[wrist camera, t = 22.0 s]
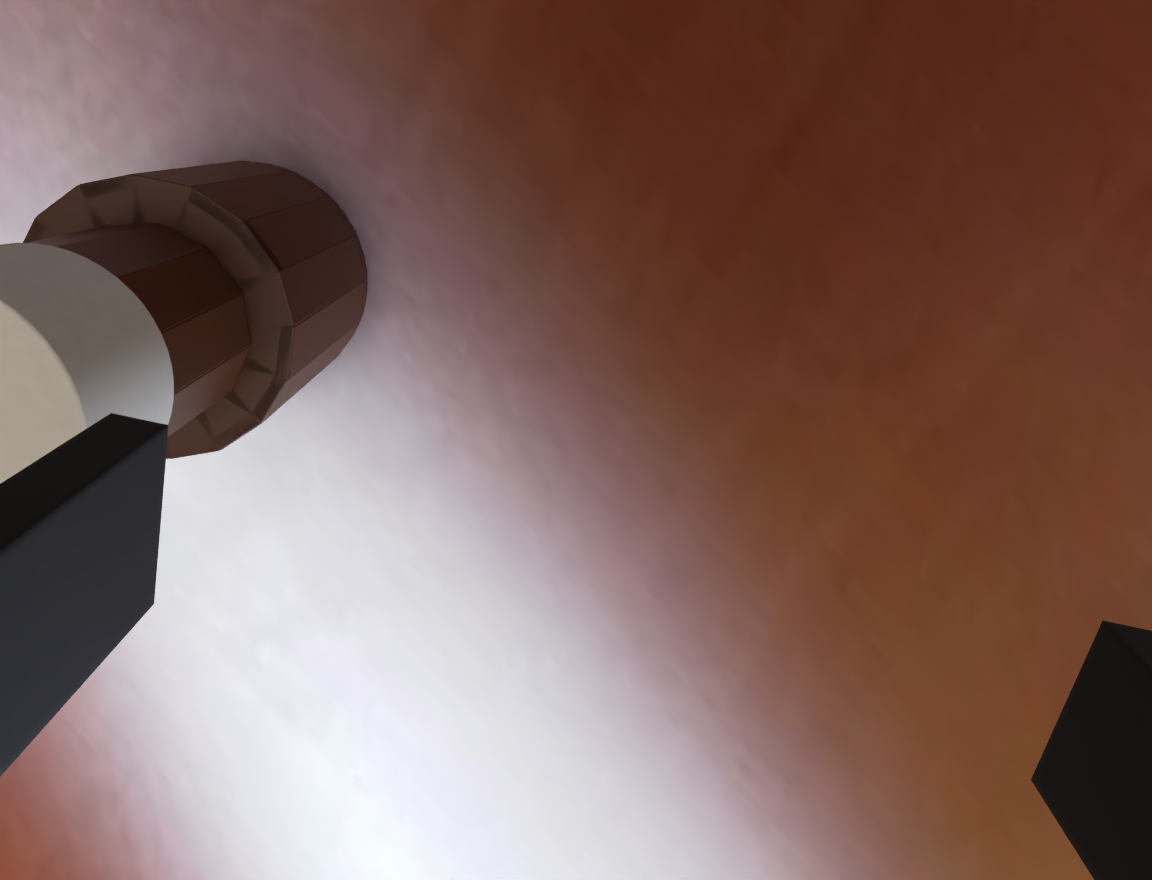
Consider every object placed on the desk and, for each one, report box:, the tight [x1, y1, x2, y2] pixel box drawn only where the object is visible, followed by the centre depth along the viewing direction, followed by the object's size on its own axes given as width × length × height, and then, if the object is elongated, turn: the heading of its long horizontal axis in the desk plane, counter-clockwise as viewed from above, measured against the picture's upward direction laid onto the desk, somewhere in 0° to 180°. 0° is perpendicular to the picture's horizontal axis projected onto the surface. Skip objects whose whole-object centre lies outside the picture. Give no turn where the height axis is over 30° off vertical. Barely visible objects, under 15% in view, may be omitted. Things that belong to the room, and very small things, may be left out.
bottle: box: [23, 161, 367, 459], centre depth 33 cm, size 9×9×16 cm
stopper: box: [0, 243, 174, 484], centre depth 25 cm, size 7×7×9 cm
